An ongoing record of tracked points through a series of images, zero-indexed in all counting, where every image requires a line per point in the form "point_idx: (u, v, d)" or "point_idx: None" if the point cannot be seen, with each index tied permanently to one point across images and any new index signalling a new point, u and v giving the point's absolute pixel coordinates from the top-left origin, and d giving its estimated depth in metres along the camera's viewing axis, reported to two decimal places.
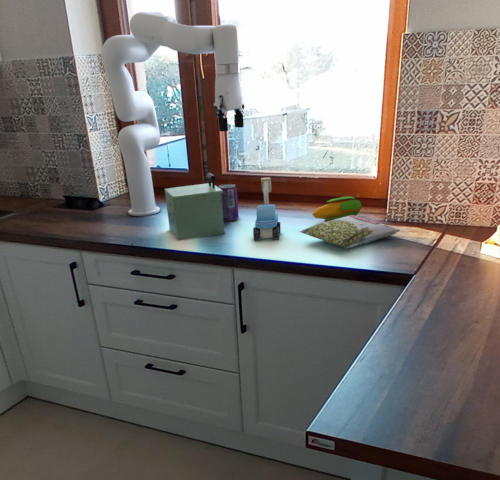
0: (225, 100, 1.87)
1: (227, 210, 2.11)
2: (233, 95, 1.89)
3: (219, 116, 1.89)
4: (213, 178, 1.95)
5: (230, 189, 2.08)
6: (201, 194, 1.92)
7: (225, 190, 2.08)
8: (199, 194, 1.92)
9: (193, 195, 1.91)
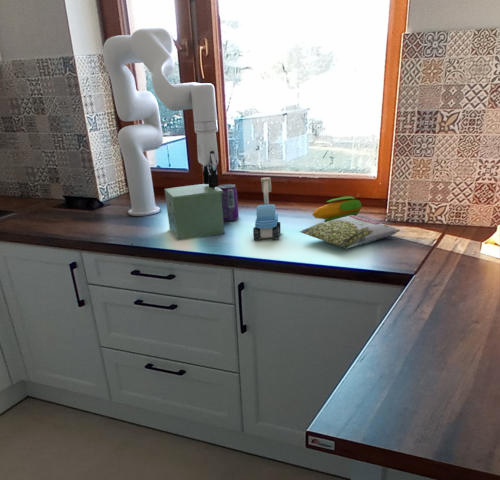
0: (216, 155, 1.90)
1: (227, 210, 2.11)
2: None
3: (212, 173, 1.92)
4: None
5: (230, 189, 2.08)
6: (201, 194, 1.92)
7: (225, 190, 2.08)
8: (199, 194, 1.92)
9: (193, 195, 1.91)
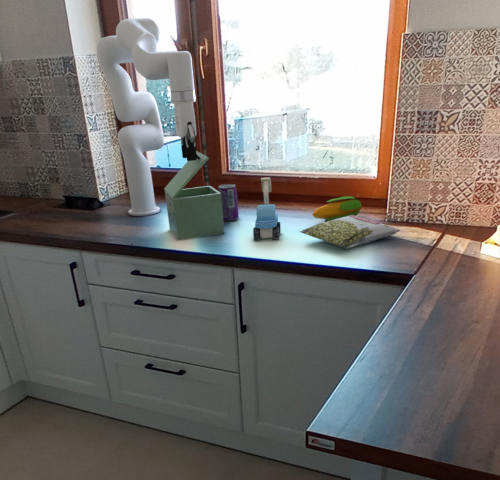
0: (194, 126, 1.83)
1: (227, 210, 2.11)
2: None
3: (190, 145, 1.86)
4: None
5: (230, 189, 2.08)
6: (192, 175, 1.88)
7: (225, 190, 2.08)
8: (191, 176, 1.88)
9: (187, 181, 1.89)
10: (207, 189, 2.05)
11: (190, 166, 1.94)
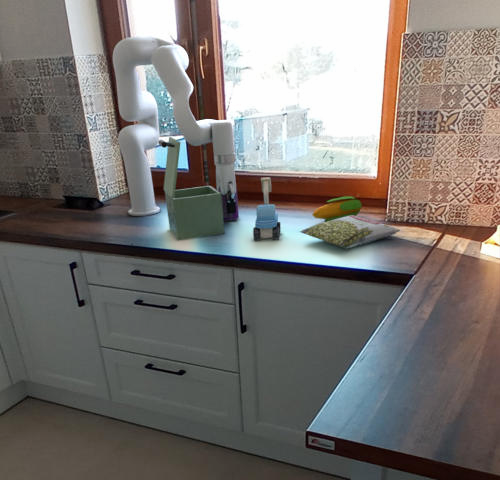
0: (234, 185, 2.06)
1: None
2: None
3: (231, 201, 2.08)
4: (164, 144, 1.85)
5: None
6: (176, 166, 1.85)
7: None
8: (176, 169, 1.86)
9: (175, 175, 1.87)
10: (207, 189, 2.05)
11: (171, 157, 1.90)
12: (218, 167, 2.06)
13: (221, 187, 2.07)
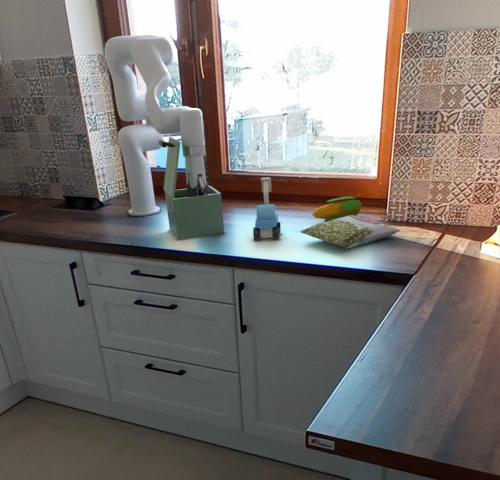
0: (204, 178, 1.92)
1: None
2: None
3: None
4: (164, 144, 1.85)
5: None
6: (176, 166, 1.85)
7: None
8: (176, 169, 1.86)
9: (175, 175, 1.87)
10: None
11: (171, 157, 1.90)
12: (187, 159, 1.92)
13: (190, 180, 1.93)
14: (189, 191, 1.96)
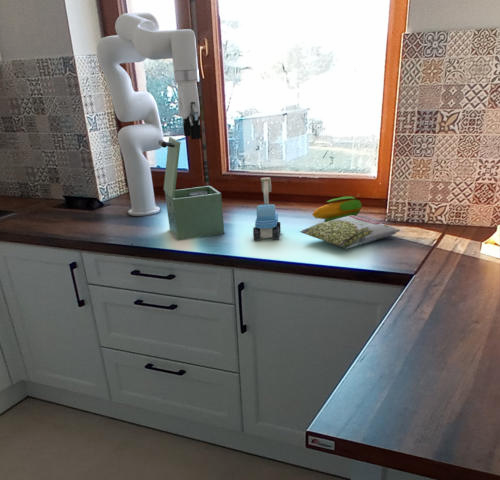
0: (198, 106, 1.81)
1: None
2: None
3: (195, 123, 1.82)
4: (164, 144, 1.85)
5: None
6: (176, 166, 1.85)
7: None
8: (176, 169, 1.86)
9: (175, 175, 1.87)
10: (207, 189, 2.05)
11: (171, 157, 1.90)
12: (179, 86, 1.80)
13: (183, 109, 1.82)
14: None
